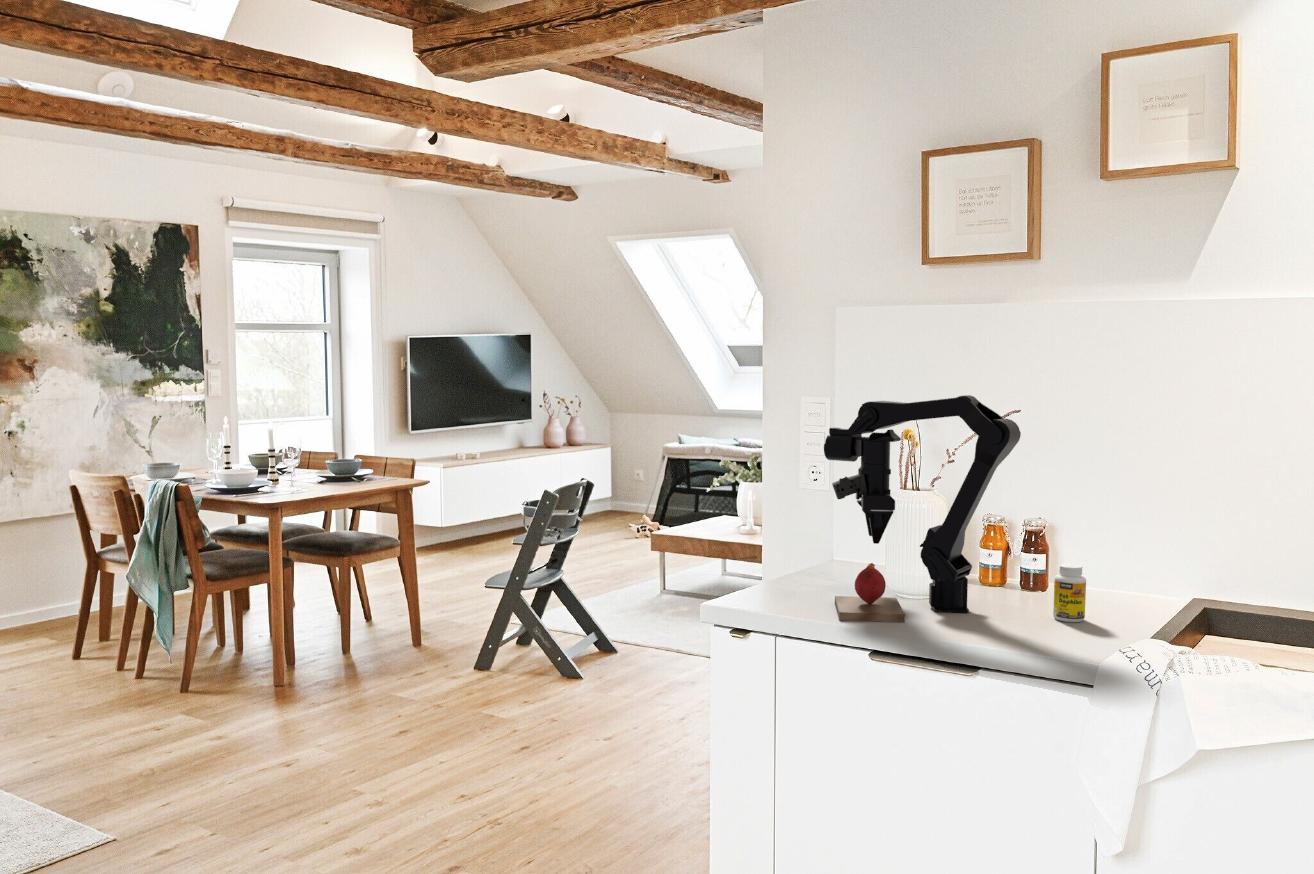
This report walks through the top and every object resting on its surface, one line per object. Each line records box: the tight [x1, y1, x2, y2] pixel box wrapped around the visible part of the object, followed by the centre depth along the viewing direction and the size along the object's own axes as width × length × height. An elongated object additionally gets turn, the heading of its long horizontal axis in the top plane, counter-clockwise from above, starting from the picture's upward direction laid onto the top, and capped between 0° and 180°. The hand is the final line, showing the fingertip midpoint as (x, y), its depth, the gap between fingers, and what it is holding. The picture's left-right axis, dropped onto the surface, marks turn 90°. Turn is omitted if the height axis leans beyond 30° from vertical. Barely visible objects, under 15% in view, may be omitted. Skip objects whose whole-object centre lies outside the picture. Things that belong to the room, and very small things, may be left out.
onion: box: [854, 562, 887, 604], centre depth 207 cm, size 6×6×8 cm
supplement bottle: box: [1052, 563, 1087, 623], centre depth 202 cm, size 6×6×10 cm
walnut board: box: [834, 595, 906, 623], centre depth 207 cm, size 12×14×2 cm
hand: (873, 539), depth 219 cm, fingers open, 9 cm apart
